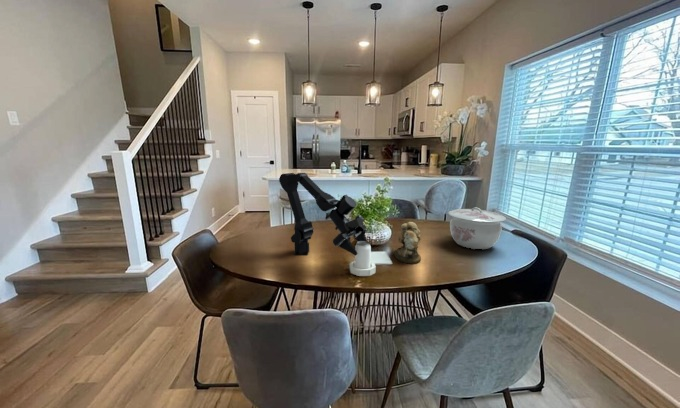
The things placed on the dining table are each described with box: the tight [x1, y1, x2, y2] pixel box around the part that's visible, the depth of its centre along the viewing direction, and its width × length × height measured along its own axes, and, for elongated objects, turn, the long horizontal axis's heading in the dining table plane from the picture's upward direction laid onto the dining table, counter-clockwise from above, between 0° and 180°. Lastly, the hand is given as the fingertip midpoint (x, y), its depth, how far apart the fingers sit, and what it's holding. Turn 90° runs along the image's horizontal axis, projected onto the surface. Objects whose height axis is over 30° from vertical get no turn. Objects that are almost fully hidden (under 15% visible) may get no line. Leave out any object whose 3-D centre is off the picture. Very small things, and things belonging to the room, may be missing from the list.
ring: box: [349, 260, 377, 277], centre depth 120 cm, size 10×10×2 cm
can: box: [354, 241, 372, 269], centre depth 119 cm, size 6×6×12 cm
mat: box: [371, 251, 393, 266], centre depth 133 cm, size 14×14×1 cm
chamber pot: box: [447, 206, 507, 250], centre depth 151 cm, size 28×28×21 cm
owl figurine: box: [393, 221, 422, 265], centre depth 134 cm, size 18×12×17 cm, turn 6°
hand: (362, 251), depth 119 cm, fingers open, 9 cm apart
